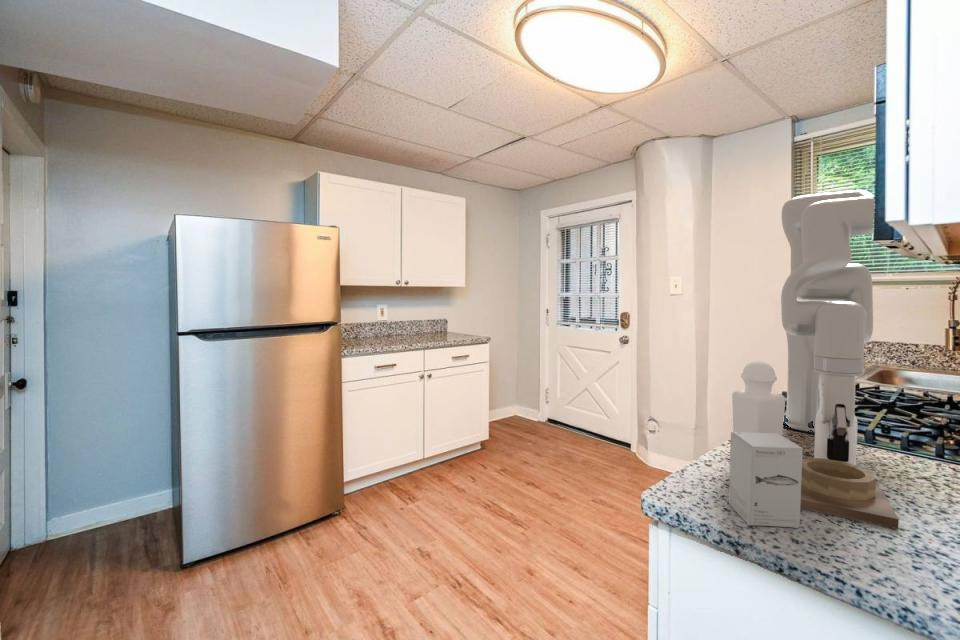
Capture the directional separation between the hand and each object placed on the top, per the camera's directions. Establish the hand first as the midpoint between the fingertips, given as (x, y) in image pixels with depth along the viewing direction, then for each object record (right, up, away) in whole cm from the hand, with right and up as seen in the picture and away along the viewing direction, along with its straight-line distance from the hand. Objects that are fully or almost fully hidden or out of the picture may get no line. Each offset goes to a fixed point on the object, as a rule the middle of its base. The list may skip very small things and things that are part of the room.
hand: (834, 453), depth 86 cm
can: (0, -3, 0) cm, 3 cm away
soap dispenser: (-16, -4, 0) cm, 16 cm away
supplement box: (-26, -5, -17) cm, 32 cm away
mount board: (-9, -4, -11) cm, 14 cm away
